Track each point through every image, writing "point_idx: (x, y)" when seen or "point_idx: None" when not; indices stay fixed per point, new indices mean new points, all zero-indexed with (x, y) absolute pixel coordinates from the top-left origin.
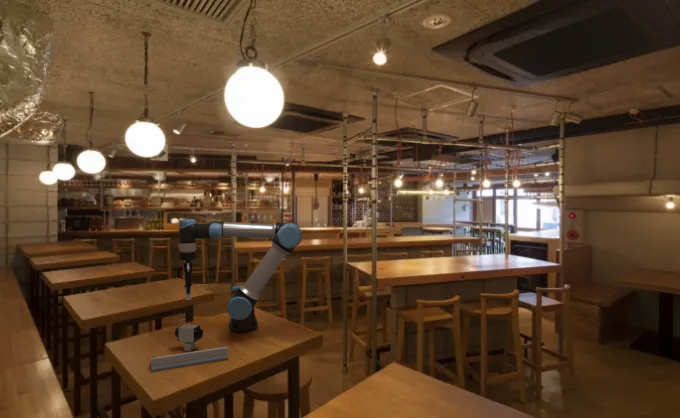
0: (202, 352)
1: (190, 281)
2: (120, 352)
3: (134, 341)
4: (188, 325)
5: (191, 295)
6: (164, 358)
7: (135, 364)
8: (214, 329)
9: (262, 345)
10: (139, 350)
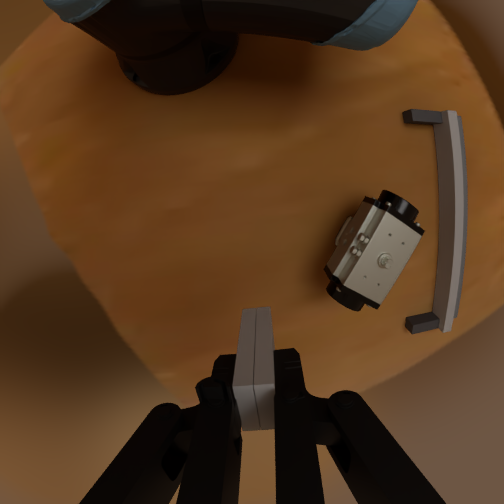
0: (461, 191)
1: (387, 440)
2: None
3: None
4: (389, 263)
5: (270, 324)
6: (454, 299)
7: (394, 361)
8: (153, 153)
9: None
10: None
